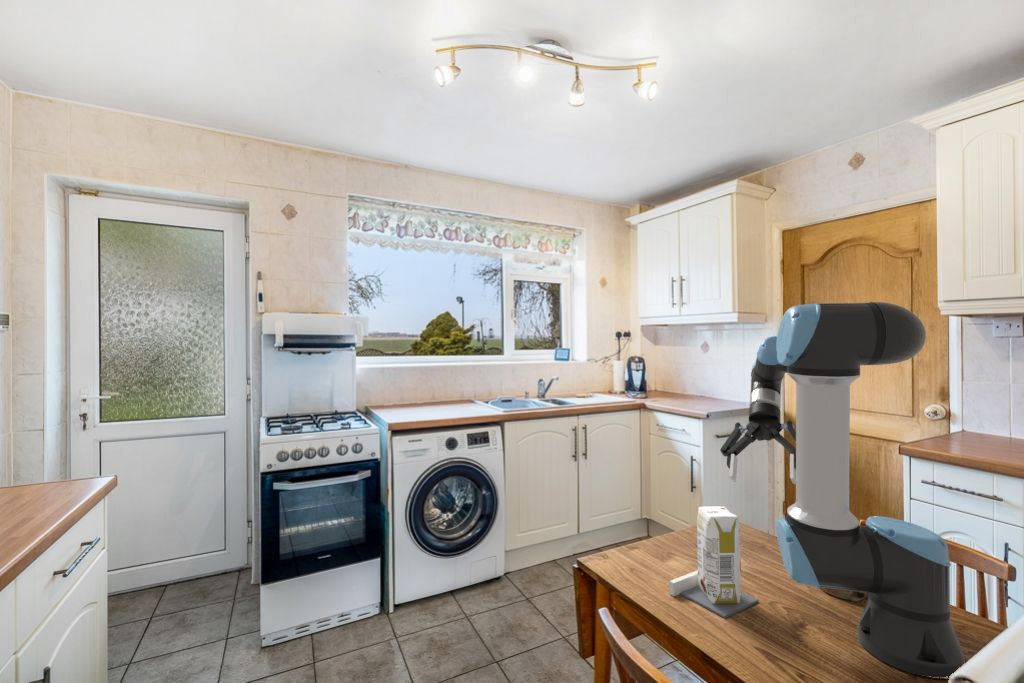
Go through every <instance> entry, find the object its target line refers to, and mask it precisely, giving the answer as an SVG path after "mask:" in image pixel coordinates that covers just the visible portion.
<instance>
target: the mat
mask: <svg viewBox="0 0 1024 683" xmlns="http://www.w3.org/2000/svg"><path fill="white" fill-rule="evenodd" d="M680 595H681V596H682V597H684V598H686V599H688V600H690V601H692V602H693V603H695V604H697V605H699V606H700V607H703V608H705V609H706V610H708V611H710V612H713V613H714V614H716V615H718V616H720V618H721V617H722V618H723V619H727V618H729V617H731V616H733V615H734V614H736V613H738V612H741V611H743V610H745V609H747V608H748V607H751V606H753V605H755V604H757V603H759V599H758V598H756V597H753V596H751V595H750V594H747V593H745V592H743V591H741V595H740V603H738V604H712V603H711V601H710V600H709V599H708V597H707V596H706V595H705V594H704V593H703V591H702V590H701V589H700V586H696V587H694V588H691V589H689V590H686V591H684V592H682V593H681V594H680ZM726 617H727V618H726Z"/></svg>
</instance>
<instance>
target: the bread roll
mask: <svg viewBox="0 0 1024 683" xmlns="http://www.w3.org/2000/svg"><path fill="white" fill-rule="evenodd" d="M819 589H821V590H822V591H823V592H824V591H825V593H826V594H829V595H831V596H833V597H835V598H837V599H841V600H846V601H852V602H859V601H863V600H864V599H866V598H867V599H868V592H859V591H850V590H840V589H831V588H822V587H820V588H819Z"/></svg>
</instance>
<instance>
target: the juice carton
mask: <svg viewBox="0 0 1024 683" xmlns="http://www.w3.org/2000/svg"><path fill="white" fill-rule="evenodd" d="M696 525H697V526H696V528H697V529H696V531H697V532H696V533H697V534H696V535H697V539H696V540H697V570H698V581H699V586H700V589H701V590H702V591H703V593H704V594H705V595H706V596H707V597H708V599H709V600H710V601H711V603H712V604H738V603H740V595H741V592H742V569H741V568H742V567H741V566H742V562H741V560H742V559H741V554H742V553H741V525H740V519H739V516H738V515H736V514H735V513H732V512H731V511H730V510H729V509H728V508H727V507H726V506H718V505H717V506H716V505H715V506H714V505H713V506H712V505H711V506H710V505H709V506H708V505H707V506H698V510H697V518H696Z"/></svg>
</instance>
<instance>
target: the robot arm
mask: <svg viewBox="0 0 1024 683" xmlns="http://www.w3.org/2000/svg"><path fill="white" fill-rule="evenodd" d="M778 326H779V327H778V330H777V335H776V336H774V335H773V336H768V337H767V338H764V339H763V340H762V342H761V343H760V345H759V348H758V350H757V353H756V359H755V362H754V363H753V364H752V367H751V372H750V377H751V378H750V379H751V380H750V395H749V405H748V406H749V409H748V422H747V423H746V424H741V423H740V422H735V424H734V429H733V431H732V432H731V433H730V434H729V436H728V437H727V439H726V440H725V442H724V443H723V444H722V447H721V448H720V449H719V450H720V453H721V454H722V456H723V457H726V466H727V468H728V469H729V474H728V476H729V478H730V480H731V482H732V483H733V482H734V483H736V482H737V472H738V470H737V469H738V457H737V456H739V455H740V453H742V451H744V450H745V449H746V448H747V447H748V446H750V444H752V443H754V442H756V441H769V442H770V441H772V440H773V439H774V440H775V441H777V443H779V444H780V445H781V446H782V447H783V448H785V449H786V450H787V451H788V453H790V454H789V479H790V481H791V483H792V484H793V485H795V502H794V503H793V504H791V505H789V506H788V507H787V509H786V510H787V511H786V518H785V517H784V518H783V517H782V518H780V519H778V520H777V521H776V537H777V538H776V539H777V543H778V549H779V552H780V555H781V560H782V562H783V566H784V568H785V570H786V572H787V575H788V576H789V577H790V578H791V579H792V580H791V581H793V582H795V583H796V584H799V585H803V586H804V585H805V586H811V587H815V588H816V589H821V588H820V587H822V588H831V589H840V590H850V591H859V592H868V597H867V601H866V603H865V606H864V608H863V610H862V613H861V614H860V617H859V620H858V622H857V640H858V642H859V644H860V645H861V646H862V647H863V648H864V649H865V650H866V651H867V652H868V653H869V654H871V655H872V656H873V657H875V658H877V659H878V660H880V661H881V662H883V663H885V664H887V665H889V666H890V667H894V668H896V669H899V670H900V669H901V671H903V672H906V673H908V674H912V673H913V674H912V675H915V674H917V675H916V676H919V675H924V676H931V677H939V678H940V677H946V676H948V678H949V676H950V675H951V674H952V673H954V672H955V671H956V670H957V669H958V668H959V667H961V666H962V665H963V664H964V663H965V662H966V660H965V659H966V658H965V654H964V652H963V649H962V646H961V644H960V642H959V639H958V636H957V634H956V631H955V629H954V627H953V624H952V621H951V581H950V580H951V579H950V578H951V576H950V575H951V574H950V573H951V570H950V569H951V568H950V567H951V565H952V563H951V561H950V554H949V547H948V544H947V542H946V540H944V538H942V536H940V535H939V534H937V533H936V532H934V531H932V530H930V529H928V528H926V527H923V526H921V525H918V524H914V523H912V522H908V521H905V520H902V519H897V518H893V517H887V516H881V515H880V516H879V515H874V516H869V517H867V518H866V521H865V525H860V520H859V519H858V518H857V517H856V516H855V515H854V514H853V513H852V511H850V454H851V453H850V448H851V447H850V438H851V435H850V432H851V430H850V427H851V426H850V425H851V420H850V417H851V416H850V415H851V414H850V413H851V408H850V407H851V405H850V404H851V402H850V401H851V392H850V391H851V387H850V386H851V384H853V383H854V382H855V381H856V380H857V379H858V378H860V377H861V366H882V365H891V364H892V365H893V364H898V363H902V362H905V361H909V360H910V359H912V358H914V357H915V356H916V355H918V354H919V352H920V351H921V350H922V349H923V347H924V345H925V342H926V338H927V336H926V333H927V332H926V328H925V325H924V324H923V322H922V320H921V319H920V318H919V316H917V315H916V314H915V313H914V312H912V311H911V310H910V309H907V308H905V307H903V306H901V305H898V304H893V303H888V302H882V301H871V302H870V301H869V302H847V303H846V302H845V303H844V302H843V303H840V302H839V303H838V302H837V303H834V302H833V303H817V302H814V303H808V304H807V303H806V304H798V305H793V306H791V307H789V308H788V309H787V310H786V311H785V313H784V314H783V316H782V318H781V320H780V322H779V325H778ZM786 374H787V375H788V376H789V377H790V378H791V379H792V380H793V381H794V382H795V396H796V397H795V425H794V423H793V421H792V420H787V421H786V422H785V423H781V412H782V411H781V407H782V404H781V403H782V395H781V394H782V393H781V392H782V382H783V379H784V377H785V375H786ZM783 429H784V430H785V432H786V433H789V434H790V436H791V438H792V439H793V441H794V442H795V446H794V444H792V443H791V442H790V441H788V440H787V439H786V438H785V437H784V436H783V435H782V434H780V433H781V431H782V430H783ZM745 431H746V432H745ZM742 434H744V435H743V436H742ZM741 436H742V437H741ZM965 664H966V663H965Z"/></svg>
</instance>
